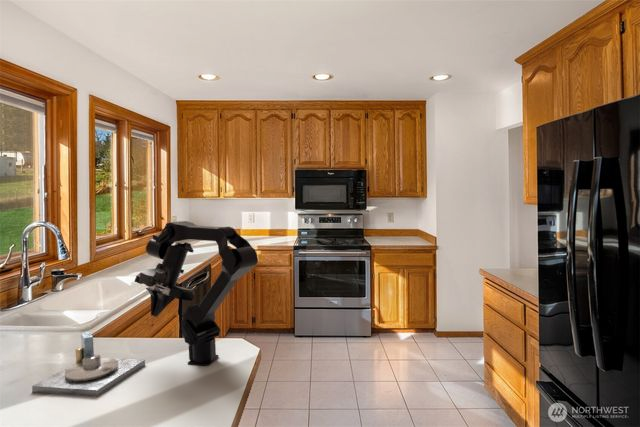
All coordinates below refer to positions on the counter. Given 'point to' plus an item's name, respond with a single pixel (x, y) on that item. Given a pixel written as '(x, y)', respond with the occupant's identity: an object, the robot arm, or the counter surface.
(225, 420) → the counter surface
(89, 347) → the flange
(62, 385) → the locating plate
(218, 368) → the counter surface
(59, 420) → the counter surface
